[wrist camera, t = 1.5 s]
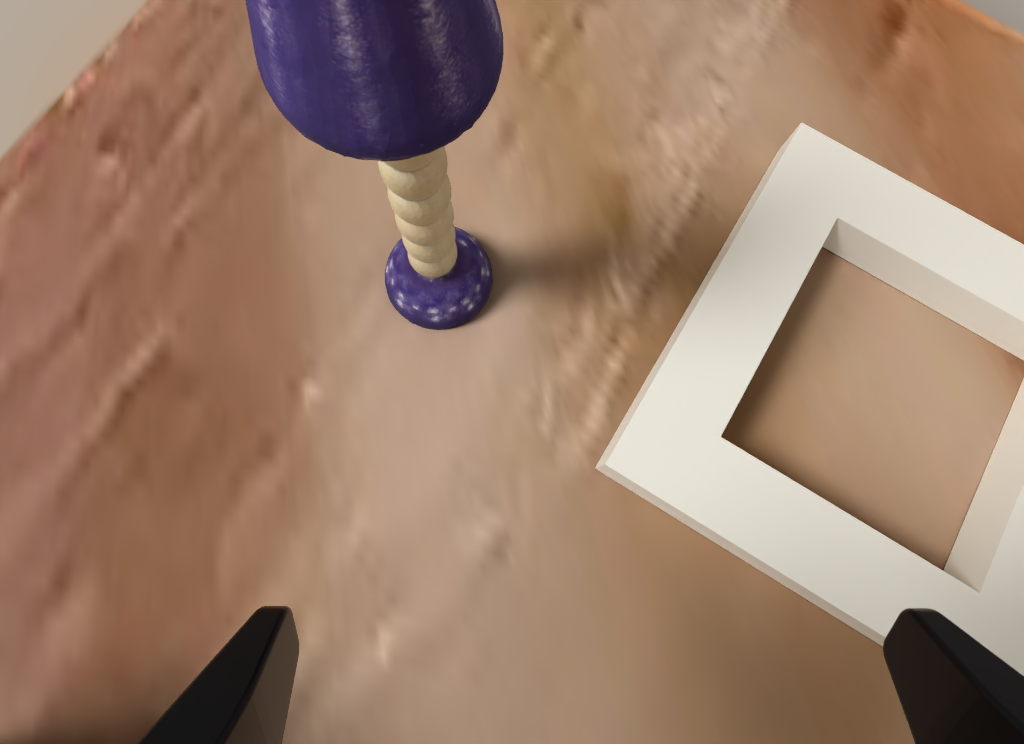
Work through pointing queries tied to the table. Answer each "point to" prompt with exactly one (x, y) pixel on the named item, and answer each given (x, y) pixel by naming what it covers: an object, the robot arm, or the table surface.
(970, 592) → the cutout frame
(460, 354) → the table surface
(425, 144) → the toy lamp
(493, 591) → the table surface
